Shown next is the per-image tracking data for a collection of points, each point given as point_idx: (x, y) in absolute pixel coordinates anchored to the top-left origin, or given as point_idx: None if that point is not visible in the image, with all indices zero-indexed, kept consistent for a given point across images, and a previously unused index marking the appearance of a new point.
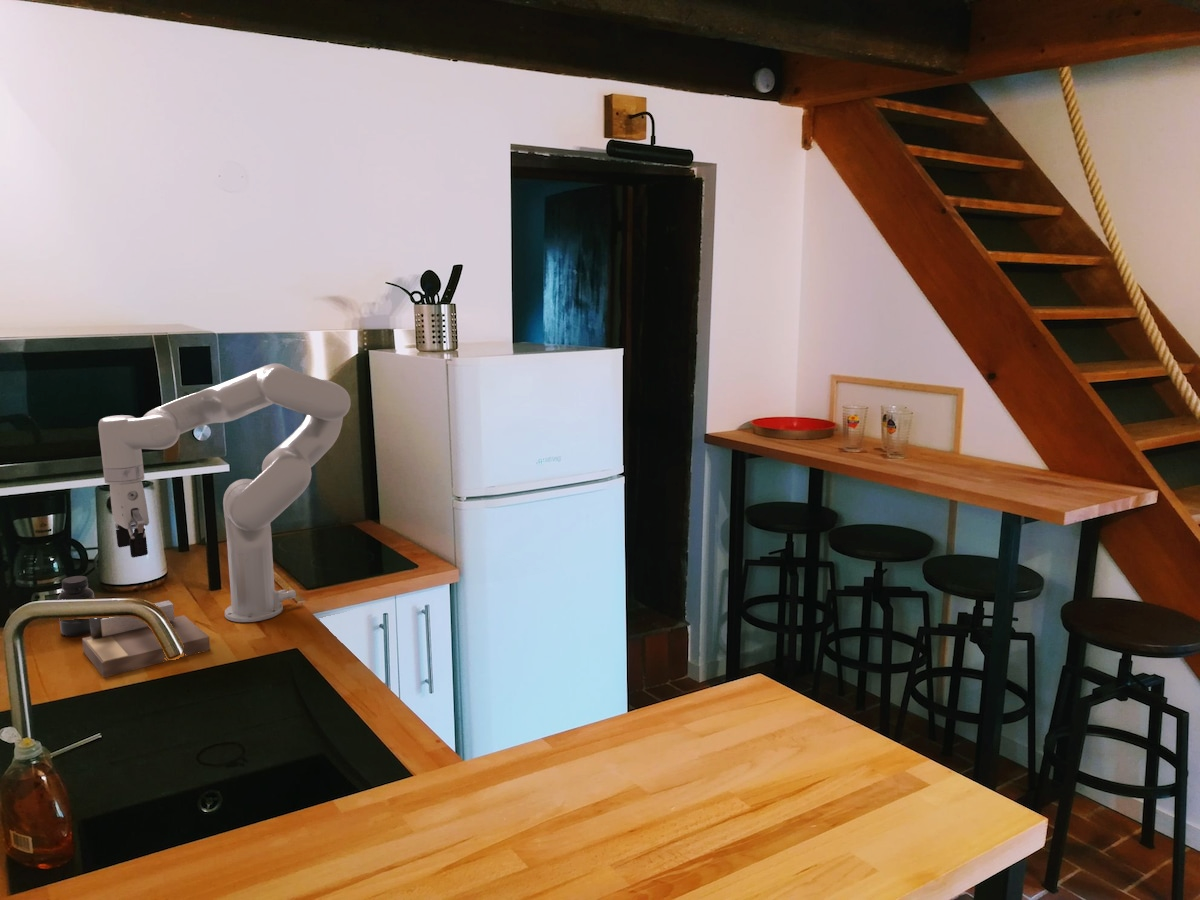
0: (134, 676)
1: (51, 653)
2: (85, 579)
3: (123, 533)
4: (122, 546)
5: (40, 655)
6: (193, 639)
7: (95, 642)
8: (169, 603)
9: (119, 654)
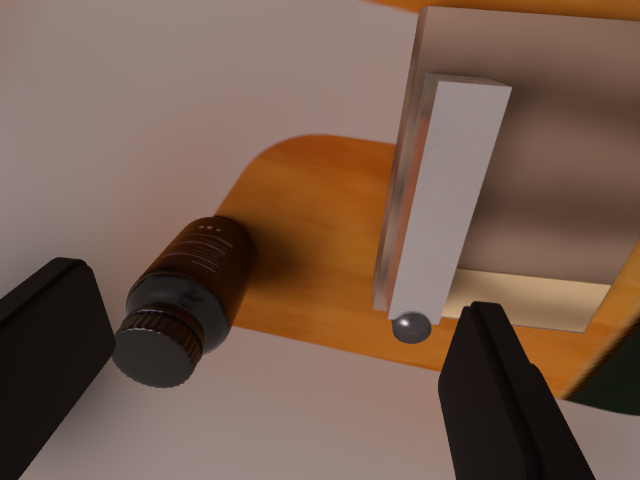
0: (631, 265)
1: (325, 325)
2: (170, 338)
3: (20, 419)
4: (112, 332)
5: (320, 339)
6: None
7: None
8: (485, 96)
9: (581, 297)
